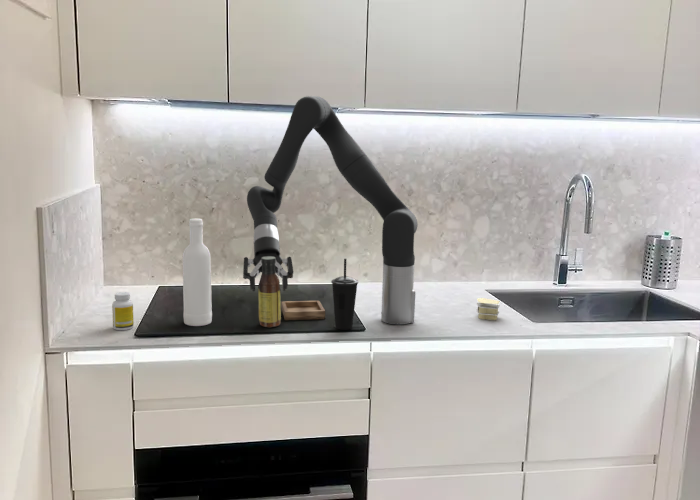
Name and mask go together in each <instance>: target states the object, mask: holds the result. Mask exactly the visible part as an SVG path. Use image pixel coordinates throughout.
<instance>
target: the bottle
mask: <svg viewBox="0 0 700 500" xmlns="http://www.w3.org/2000/svg"><path fill="white" fill-rule="evenodd" d="M203 221H204V220H203V219H202V218H199V217H198V218H197V217H196V218H190V219H189V222H188V226H189V244H188V245H187V246H186V247H185V248H184V249H183V254H182V281H183V282H182V289H183V291H182V293H183V294H182V296H183V298H182V299H183V323H184V324H185V325H187V326H190V327H201V326H202V327H203V326H206V325H210V324H211V323H212V321H213V320H212V319H213V311H212V309H213V307H212V255H211V252H210V250H209V248H208V247H207V246H206V244H204V231H203V230H204V229H203V228H204V222H203Z"/></svg>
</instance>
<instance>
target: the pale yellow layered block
mask: <svg viewBox="0 0 700 500" xmlns="http://www.w3.org/2000/svg"><path fill="white" fill-rule="evenodd" d="M476 299H477V302H476V305H477V308H476V313H477V314H478V315H477V317H478V319H480V320H489V321H497V319H498V316H499V313H500V311H499V309H500V305H499V304H500V300H495V299H490V298H483V297H481V298H480V297H479V298H476Z"/></svg>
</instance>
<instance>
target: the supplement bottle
mask: <svg viewBox="0 0 700 500" xmlns="http://www.w3.org/2000/svg"><path fill="white" fill-rule="evenodd" d="M130 298H131V293H130V292H127V291H120V292H115V293H114V300H115V301H113V302H112V305H111V306H112V307H111V308H112V312H111V313H112V327H113V328H112V329H114V330H115V331H126V330H127V331H128V330H131V329H133V328H134V325H135V324H134V323H135V322H134V303H133V301H132V300H130Z"/></svg>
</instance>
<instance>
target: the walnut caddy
mask: <svg viewBox="0 0 700 500" xmlns="http://www.w3.org/2000/svg"><path fill="white" fill-rule="evenodd" d="M280 304H281V314H282V316H283V318H284V321H302V320H304V321H306V320H325V319H326V309H325V308H324V307H323V304H322V303H321V301H320V300H295V301H294V300H293V301H291V300H289V301H285V300H284V301H280Z"/></svg>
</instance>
